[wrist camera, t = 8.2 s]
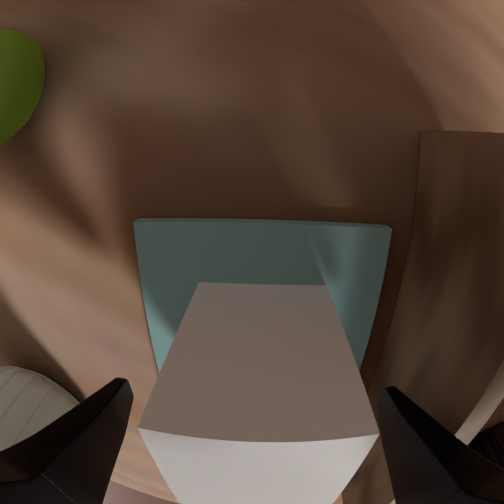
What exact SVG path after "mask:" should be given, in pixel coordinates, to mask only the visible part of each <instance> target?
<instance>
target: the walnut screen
mask: <svg viewBox="0 0 504 504" xmlns="http://www.w3.org/2000/svg"><path fill="white" fill-rule="evenodd" d="M389 386H395V387H397V388H398V389H399V390H400V391H401V392H403V393H404V394H405V395H406V396H407V397H409V398H410V399H411V400H412V401H413V402H415V403H416V404H417V405H418V406H419V407H421V408H422V409H423V410H424V411H425V412H427V413H428V414H429V415H430V416H431V417H433V418H434V419H435V420H436V421H438V422H439V423H440V424H441V425H442V426H444V427H445V428H446V429H447V430H449V431H450V432H451V433H452V434H453V435H455V436H456V437H457V438H458V439H460V440H461V441H462V442H463V443H465V444H466V445H468V444H469V443H470V442H471V441H472V439H473V438H474V437H475V436H476V435H477V433H478V432H479V431H480V430H481V428H482V427H483V426H484V424H485V423H486V422H487V420H488V419H489V418H490V416H491V415H492V414H493V412H494V411H495V409H496V408H497V407H498V405H499V404H500V402H501V401H502V399H503V398H504V133H490V132H466V131H423V132H420V155H419V169H418V181H417V191H416V200H415V208H414V215H413V222H412V228H411V235H410V241H409V246H408V252H407V257H406V262H405V267H404V271H403V276H402V280H401V285H400V289H399V293H398V297H397V301H396V305H395V309H394V312H393V316H392V320H391V323H390V327H389V330H388V333H387V337H386V340H385V343H384V346H383V349H382V352H381V355H380V358H379V361H378V364H377V367H376V370H375V373H374V375H373V378H372V381H371V384H370V386H369V389H368V391H367V396H368V399H369V402H370V405H371V408H372V411H373V414H374V417H375V420H376V423H377V426H378V429H379V433H380V428H379V420H378V414H377V401H378V399H379V396H380V394H381V392H382V389H383V388H384V387H389ZM341 493H342V499H343V504H395V499H394V494H393V489H392V484H391V480H390V475H389V471H388V467H387V463H386V458H385V454H384V450H383V446H382V442H381V435H380V434H379V436H378V438H377V439H376V441H375V443H374V444H373V446H372V448H371V449H370V451H369V453H368V454H367V456H366V457H365V459H364V461H363V462H362V464H361V465H360V467H359V468H358V470H357V471H356V473H355V474H354V475H353V477H352V478H351V480H350V481H349V483H348V484H347V485H346V487H345V488H344V489H343V491H342V492H341Z"/></svg>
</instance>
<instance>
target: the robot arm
mask: <svg viewBox="0 0 504 504" xmlns="http://www.w3.org/2000/svg"><path fill="white" fill-rule="evenodd" d="M132 403H133V392H132V390H131V387H130V384H129V381H128V380H127V379H124V378H115V379H114V380H112V381H111V382H109V383H108V384H107V385H105V386H104V387H102V388H101V389H99V390H98V391H97V392H95V393H94V394H92V395H91V396H89V397H88V398H87V399H85V400H84V401H82V402H81V403H79V404H78V405H77V406H75V407H74V408H72V409H71V410H69V411H68V412H66V413H65V414H63V415H62V416H61V417H59V418H58V419H56V420H55V421H53V422H52V423H50V425H47V426H46V427H44V428H43V429H41V430H40V431H38V432H37V433H35V434H33V435H32V436H30V437H28V438H26V439H24V440H22V441H20V442H18V443H17V444H15V445H13V446H11V447H9V448H6V449H4V450H2V451H0V504H102V503H103V500H104V497H105V493H106V490H107V487H108V484H109V481H110V478H111V475H112V472H113V469H114V465H115V462H116V460H117V457H118V454H119V451H120V448H121V445H122V442H123V439H124V436H125V433H126V429H127V424H128V420H129V416H130V411H131V407H132ZM377 414H378V420H379V428H380V435H381V442H382V446H383V450H384V454H385V458H386V463H387V467H388V471H389V475H390V480H391V484H392V489H393V494H394V499H395V504H504V423H503V424H501V425H499V426H496V427H494V428H492V429H490V430H488V431H485V432H483V433H481V434H478V435H477V436H475V437H474V438H473V439H472V441H471V442H470V443H469V444H468V445H466V444H465V443H463V442H462V441H461V440H460V439H458V438H457V437H456V436H455V435H453V434H452V433H451V432H450V431H449V430H447V429H446V428H445V427H444V426H442V425H441V424H440V423H439V422H438V421H436V420H435V419H434V418H433V417H431V416H430V415H429V414H428V413H427V412H425V411H424V410H423V409H422V408H421V407H419V406H418V405H417V404H416V403H415V402H413V401H412V400H411V399H410V398H409V397H407V396H406V395H405V394H404V393H403V392H401V391H400V390H399V389H398V388H397V387H395V386H389V387H384V388H383V389H382V392H381V394H380V396H379V399H378V401H377Z"/></svg>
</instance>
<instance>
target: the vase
mask: <svg viewBox="0 0 504 504" xmlns="http://www.w3.org/2000/svg"><path fill="white" fill-rule="evenodd" d="M78 404H79V402H78V401H77V400H76V399H75V398H74V397H73V396H72V395H71V394H70V393H69V392H67V391H66V390H65V389H64V388H62V387H61V386H60V385H58V384H57V383H56V382H54V381H52V380H51V379H49V378H47V377H46V376H44V375H42V374H40V373H37V372H35V371H31V370H28V369H24V368H20V367H16V366H4V367H0V451H2V450H4V449H6V448H9V447H11V446H13V445H15V444H17V443H18V442H20V441H22V440H24V439H26V438H28V437H30V436H32V435H33V434H35V433H37V432H38V431H40V430H41V429H43V428H44V427H46V426H47V425H50V423H52V422H53V421H55V420H56V419H58V418H59V417H61V416H62V415H63V414H65V413H66V412H68V411H69V410H71V409H72V408H74V407H75V406H77V405H78Z"/></svg>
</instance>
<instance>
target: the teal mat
mask: <svg viewBox="0 0 504 504" xmlns="http://www.w3.org/2000/svg"><path fill="white" fill-rule="evenodd" d="M133 225H134V234H135V243H136V252H137V260H138V267H139V274H140V281H141V287H142V293H143V299H144V305H145V311H146V316H147V321H148V326H149V331H150V336H151V341H152V345H153V350H154V354H155V359H156V363H157V367H158V371H159V373H160V371H161V368H162V366H163V363H164V361H165V359H166V356H167V354H168V352H169V349H170V347H171V344H172V342H173V340H174V337H175V335H176V333H177V331H178V328H179V326H180V324H181V321H182V319H183V317H184V315H185V312H186V310H187V308H188V305H189V303H190V301H191V299H192V297H193V294H194V292H195V290H196V288H197V285H198V283H199V282H210V283H238V284H275V285H326V286H327V289H328V291H329V294H330V296H331V299H332V301H333V304H334V306H335V309H336V311H337V314H338V316H339V319H340V322H341V324H342V327H343V329H344V332H345V335H346V337H347V340H348V343H349V345H350V348H351V351H352V353H353V356H354V359H355V362H356V364H357V367H358V370H359V371H360V367H361V364H362V361H363V358H364V354H365V351H366V348H367V344H368V340H369V337H370V333H371V329H372V326H373V322H374V318H375V314H376V310H377V306H378V301H379V297H380V292H381V288H382V283H383V278H384V273H385V268H386V263H387V257H388V252H389V246H390V240H391V233H392V229H391V228H390V227H389V226H387V225H381V224H364V223H346V222H325V221H301V220H271V219H227V218H139V219H137V220H136V221H134V222H133Z"/></svg>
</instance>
